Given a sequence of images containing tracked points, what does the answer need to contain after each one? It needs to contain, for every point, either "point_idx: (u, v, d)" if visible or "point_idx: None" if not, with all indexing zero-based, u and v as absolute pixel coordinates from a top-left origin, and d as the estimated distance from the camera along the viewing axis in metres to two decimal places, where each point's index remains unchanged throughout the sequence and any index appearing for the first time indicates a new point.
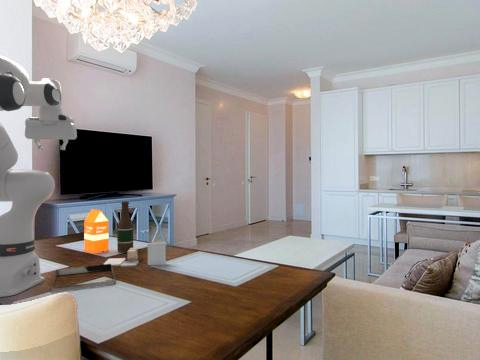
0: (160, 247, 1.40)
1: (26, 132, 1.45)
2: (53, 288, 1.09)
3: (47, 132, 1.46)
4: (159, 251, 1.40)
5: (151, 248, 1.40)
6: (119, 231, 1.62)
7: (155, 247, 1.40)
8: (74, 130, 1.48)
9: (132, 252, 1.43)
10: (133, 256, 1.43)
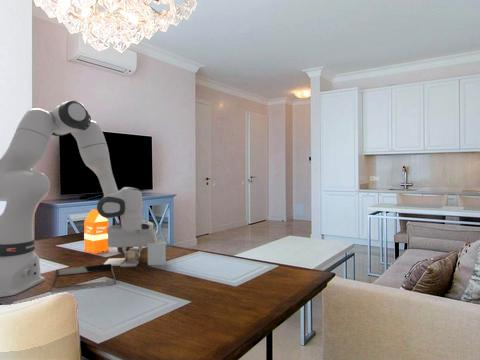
0: (160, 247, 1.40)
1: (109, 241, 1.43)
2: (53, 288, 1.09)
3: (129, 240, 1.44)
4: (159, 251, 1.40)
5: (151, 248, 1.40)
6: None
7: (155, 247, 1.40)
8: (155, 237, 1.47)
9: (132, 252, 1.43)
10: (133, 256, 1.43)
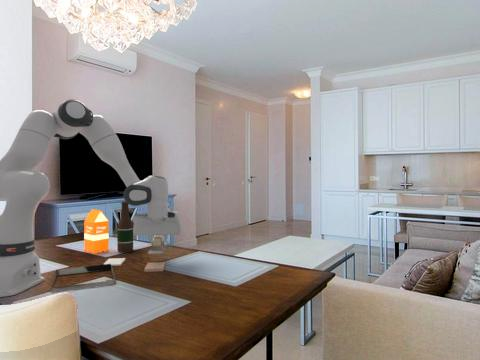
0: None
1: (135, 229, 1.43)
2: (53, 288, 1.09)
3: (155, 228, 1.44)
4: None
5: None
6: (119, 231, 1.62)
7: None
8: None
9: (158, 240, 1.43)
10: (159, 244, 1.43)
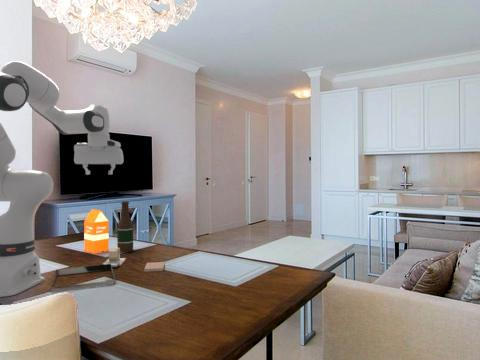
0: None
1: (75, 158, 1.47)
2: (53, 288, 1.09)
3: (96, 157, 1.48)
4: None
5: None
6: (119, 231, 1.62)
7: None
8: (121, 155, 1.50)
9: (114, 252, 1.41)
10: (115, 256, 1.41)
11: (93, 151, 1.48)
